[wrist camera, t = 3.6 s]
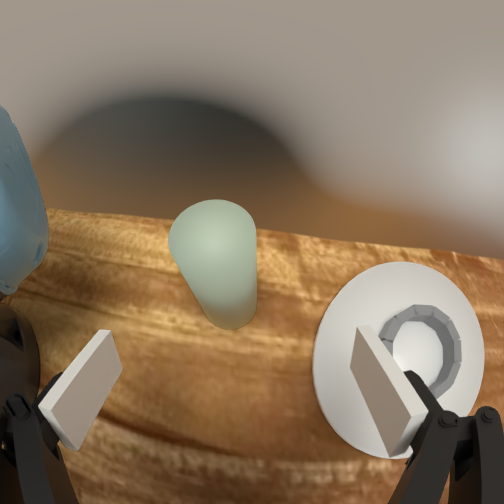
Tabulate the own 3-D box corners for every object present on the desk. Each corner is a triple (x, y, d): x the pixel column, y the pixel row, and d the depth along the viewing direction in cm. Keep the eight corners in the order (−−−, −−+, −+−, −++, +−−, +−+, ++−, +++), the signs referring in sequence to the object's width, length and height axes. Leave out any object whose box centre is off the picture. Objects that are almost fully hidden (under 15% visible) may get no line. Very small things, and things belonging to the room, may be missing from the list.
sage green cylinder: (199, 325, 25) (157, 268, 15) (209, 276, 28) (181, 197, 17) (253, 333, 25) (249, 280, 14) (260, 282, 27) (261, 203, 17)
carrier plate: (298, 461, 19) (303, 470, 16) (318, 257, 28) (324, 240, 26) (473, 439, 17) (491, 439, 14) (468, 274, 27) (483, 262, 24)
